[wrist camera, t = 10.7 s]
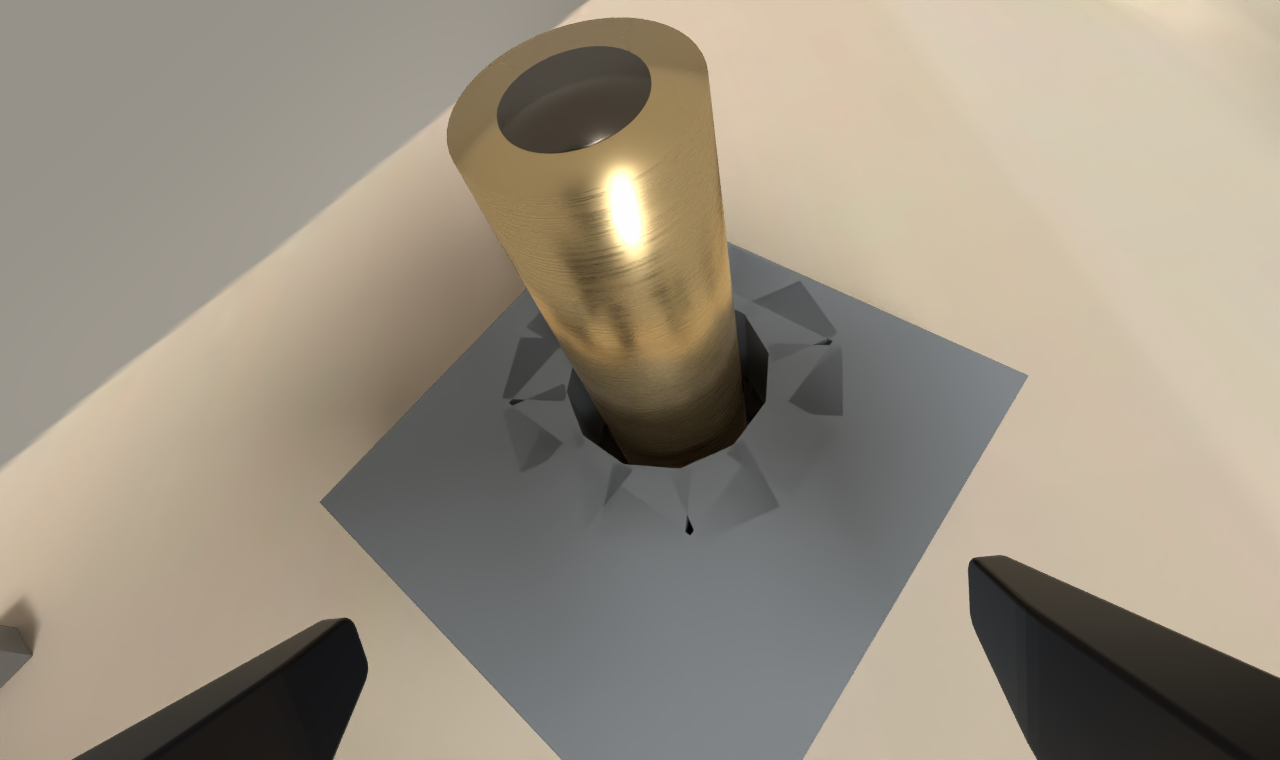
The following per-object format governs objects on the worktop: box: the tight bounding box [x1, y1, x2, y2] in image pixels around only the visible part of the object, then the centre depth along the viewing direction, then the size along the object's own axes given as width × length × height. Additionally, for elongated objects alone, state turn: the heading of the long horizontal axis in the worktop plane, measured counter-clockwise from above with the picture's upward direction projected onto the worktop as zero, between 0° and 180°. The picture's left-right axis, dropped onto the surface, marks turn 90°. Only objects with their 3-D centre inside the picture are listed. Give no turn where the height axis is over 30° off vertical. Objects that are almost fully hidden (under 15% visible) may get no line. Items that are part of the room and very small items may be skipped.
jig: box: [320, 242, 1028, 760], centre depth 18 cm, size 14×14×4 cm
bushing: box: [447, 18, 747, 469], centre depth 15 cm, size 4×4×13 cm
